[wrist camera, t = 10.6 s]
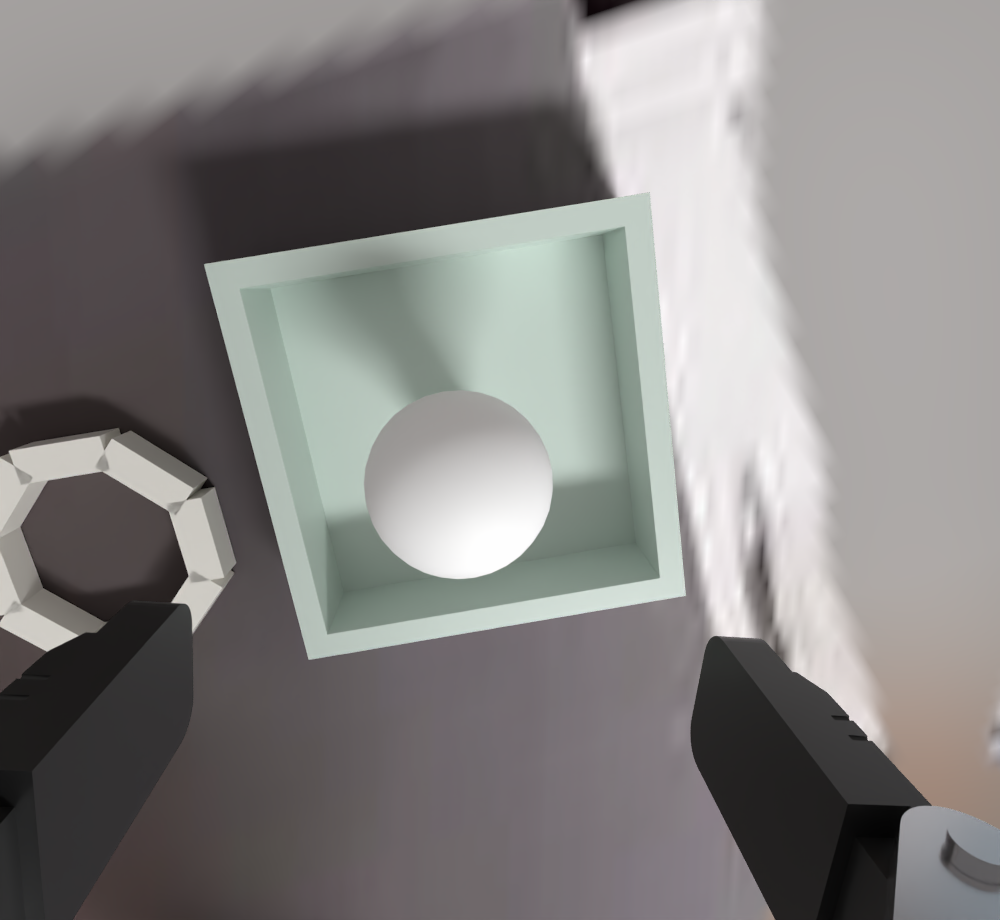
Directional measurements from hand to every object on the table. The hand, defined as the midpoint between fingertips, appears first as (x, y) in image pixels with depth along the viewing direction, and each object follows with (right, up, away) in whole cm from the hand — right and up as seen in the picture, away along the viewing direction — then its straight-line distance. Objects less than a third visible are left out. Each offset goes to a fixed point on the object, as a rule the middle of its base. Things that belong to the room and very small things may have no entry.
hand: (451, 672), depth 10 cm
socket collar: (-17, -1, +20) cm, 26 cm away
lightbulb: (-1, +5, +19) cm, 20 cm away
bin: (-1, +5, +19) cm, 20 cm away
